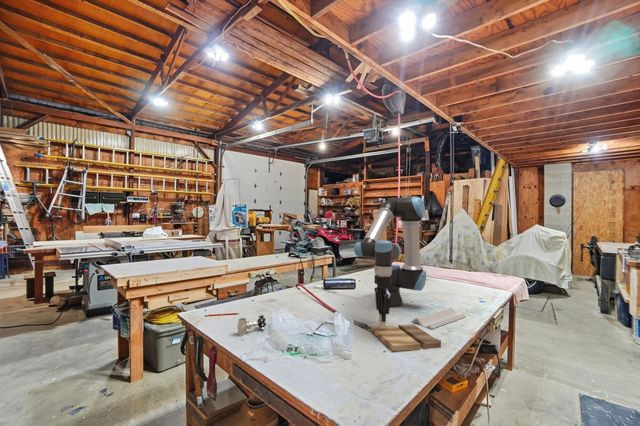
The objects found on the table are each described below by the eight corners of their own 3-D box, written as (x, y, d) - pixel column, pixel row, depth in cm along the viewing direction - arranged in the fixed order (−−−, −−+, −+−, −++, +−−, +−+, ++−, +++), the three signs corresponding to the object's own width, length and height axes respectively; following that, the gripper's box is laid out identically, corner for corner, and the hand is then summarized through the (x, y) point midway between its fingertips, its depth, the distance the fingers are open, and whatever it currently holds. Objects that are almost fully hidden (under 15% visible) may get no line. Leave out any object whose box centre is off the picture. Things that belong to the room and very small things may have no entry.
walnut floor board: (398, 329, 133) (398, 324, 133) (413, 328, 135) (413, 323, 135) (423, 348, 114) (423, 343, 114) (440, 347, 116) (440, 341, 116)
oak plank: (371, 331, 130) (371, 326, 130) (395, 329, 133) (395, 325, 133) (392, 350, 110) (392, 345, 110) (420, 349, 113) (420, 344, 113)
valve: (240, 338, 121) (266, 331, 128) (240, 322, 121) (266, 317, 128) (234, 333, 126) (259, 327, 133) (235, 318, 126) (259, 313, 133)
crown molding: (431, 331, 134) (431, 323, 134) (410, 323, 144) (410, 316, 144) (465, 318, 152) (465, 311, 152) (444, 312, 162) (444, 305, 162)
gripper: (369, 272, 134) (368, 323, 133) (381, 278, 121) (381, 334, 121) (384, 272, 136) (383, 322, 135) (397, 277, 123) (397, 333, 122)
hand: (382, 328), depth 128 cm, fingers closed
